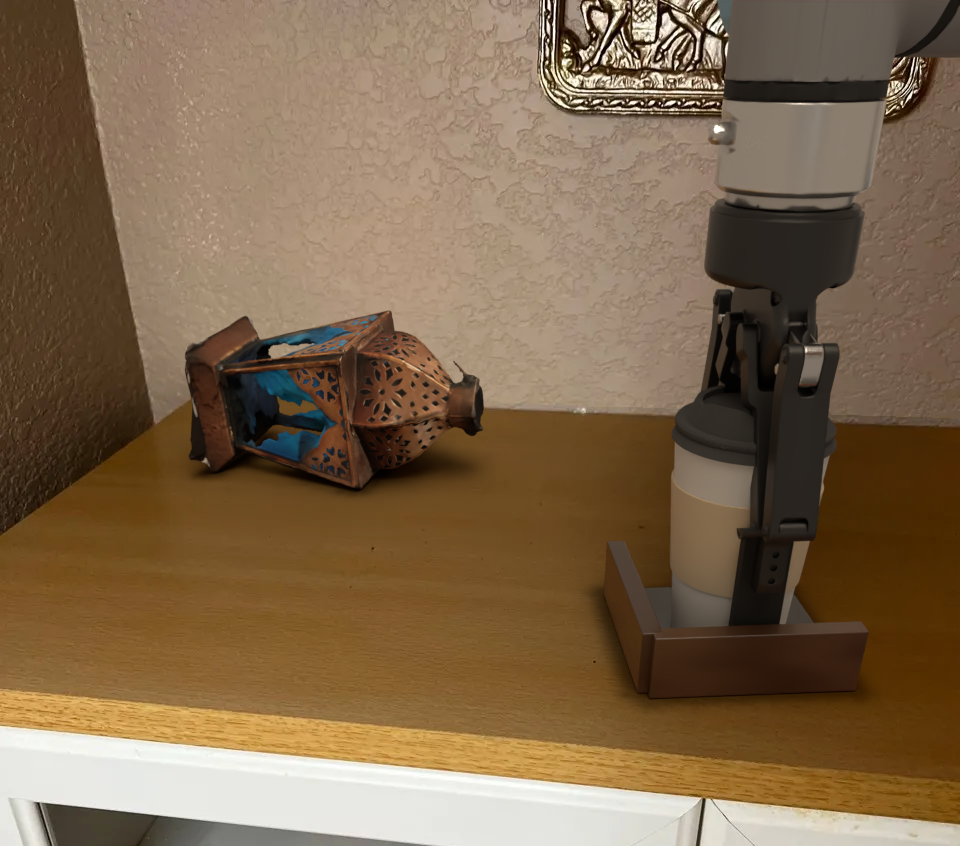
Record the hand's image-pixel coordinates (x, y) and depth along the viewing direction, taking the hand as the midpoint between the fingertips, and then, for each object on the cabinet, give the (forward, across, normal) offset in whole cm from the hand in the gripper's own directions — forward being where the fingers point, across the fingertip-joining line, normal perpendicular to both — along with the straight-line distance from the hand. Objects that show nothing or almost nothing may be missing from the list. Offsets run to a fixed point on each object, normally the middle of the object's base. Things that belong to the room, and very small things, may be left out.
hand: (730, 595), depth 61 cm
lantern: (+3, -31, -26) cm, 41 cm away
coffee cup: (+3, 0, 0) cm, 3 cm away
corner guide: (+3, 0, 0) cm, 3 cm away
